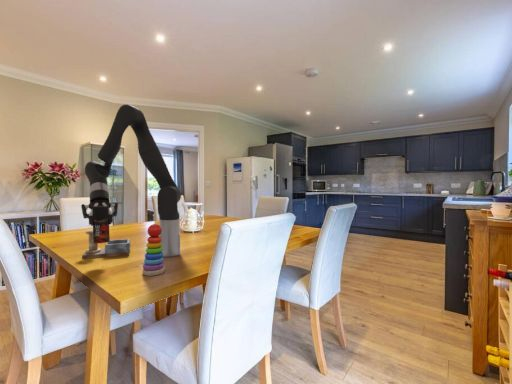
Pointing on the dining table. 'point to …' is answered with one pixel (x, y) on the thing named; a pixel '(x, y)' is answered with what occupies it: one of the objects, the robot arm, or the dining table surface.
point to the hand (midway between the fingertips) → (101, 223)
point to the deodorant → (100, 224)
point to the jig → (106, 248)
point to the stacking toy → (153, 252)
